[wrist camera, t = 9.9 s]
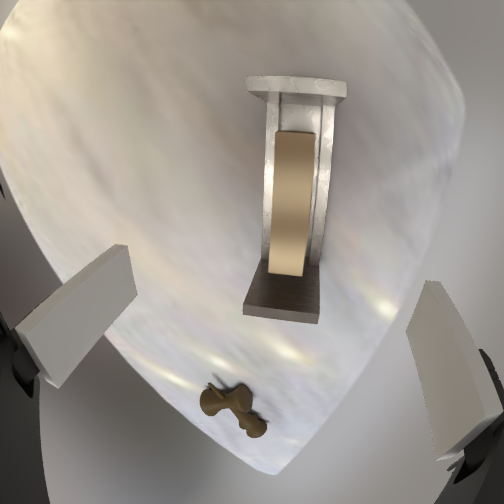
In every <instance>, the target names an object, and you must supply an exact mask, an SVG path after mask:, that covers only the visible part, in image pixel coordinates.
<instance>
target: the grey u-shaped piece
mask: <svg viewBox="0 0 504 504" xmlns="http://www.w3.org/2000/svg"><path fill="white" fill-rule="evenodd" d="M246 91H247V92H249V93H251V94H253V95H255V96H257V97H259V98H261V99H262V100H264V101H266V102H267V116H266V147H265V176H264V202H263V227H262V251H261V259H260V262H259V265H258V267H257V270H256V272H255V275H254V278H253V280H252V283H251V285H250V288H249V290H248V293H247V296H246V298H245V301H244V303H243V315H250V316H256V317H263V318H271V319H278V320H286V321H294V322H302V323H311V324H318V319H319V314H320V282H319V261H320V254H321V247H322V240H323V233H324V225H325V217H326V209H327V200H328V191H329V181H330V170H331V158H332V145H333V130H334V111H335V107H336V106H337V105H338V104H339V103H340V102H342V101H343V100H344V99H345V98H347V82H346V81H338V80H330V79H320V78H309V77H294V76H247V89H246ZM283 130H292V131H304V132H314V133H315V162H314V176H313V188H312V199H311V209H310V219H309V229H308V238H307V246H306V252H305V257H304V265H303V273H302V276H294V275H285V274H277V273H268V268H269V251H270V233H271V214H272V194H273V172H274V148H275V131H283Z"/></svg>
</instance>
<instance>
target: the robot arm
mask: <svg viewBox="0 0 504 504" xmlns="http://www.w3.org/2000/svg"><path fill="white" fill-rule="evenodd" d="M137 295H138V294H137V290H136V286H135V281H134V277H133V272H132V267H131V262H130V257H129V251H128V246H126V245H118V244H115V245H113V246H112V247H111V248H109V249H108V250H107V251H105V252H104V253H103V254H101V255H100V256H99V257H97V258H96V259H95V260H94V261H92V262H91V263H90V264H88V265H87V266H86V267H85V268H83V269H82V270H81V271H79V272H78V273H77V274H76V275H74V276H73V277H72V278H71V279H70V280H68V281H67V282H66V283H65V284H63V285H62V286H61V287H60V288H59V289H58V290H56V291H55V292H54V293H53V294H51V295H49V296H48V297H47V298H46V299H45V300H43V301H42V302H41V304H39V305H38V306H37V307H36V308H35V310H32V311H31V312H30V313H29V314H28V315H27V316H26V317H24V318H23V319H22V320H21V321H20V322H19V323H18V324H17V325H16V326H15V327H14V328H13V329H12V330H9V328H8V326H7V324H6V322H5V320H4V318H3V316H2V314H1V312H0V504H50V501H49V497H48V492H47V487H46V481H45V476H44V468H43V461H42V451H41V440H40V420H39V391H40V380H39V377H38V376H37V374H38V373H39V372H41V373H42V375H43V376H44V377H45V379H46V381H47V382H49V383H50V384H52V385H53V386H55V387H57V388H58V389H59V388H60V387H61V385H62V384H63V382H64V381H65V380H66V379H67V377H68V376H69V375H70V374H71V372H72V371H73V370H74V369H75V367H76V366H77V365H78V364H79V363H80V361H81V360H82V359H83V358H84V356H85V355H86V354H87V353H88V351H89V350H90V349H91V348H92V347H93V346H94V344H95V343H96V342H97V341H98V340H99V338H100V337H101V336H102V335H103V334H104V333H105V331H106V330H107V329H108V328H109V327H110V326H111V324H112V323H113V322H114V321H115V320H116V319H117V317H118V316H119V315H120V314H121V313H122V312H123V311H124V310H125V308H126V307H127V306H128V305H129V304H130V303H131V302H132V301H133V299H134V298H135V297H136V296H137ZM406 334H407V337H408V340H409V343H410V346H411V350H412V353H413V357H414V360H415V363H416V366H417V371H418V374H419V379H420V382H421V386H422V390H423V395H424V399H425V404H426V408H427V413H428V418H429V423H430V429H431V434H432V440H433V447H434V454H435V460H436V461H437V460H442V459H446V458H450V457H454V456H455V455H456V454H457V453H459V452H460V451H461V450H462V449H464V454H465V455H464V456H463V457H462V458H460V459H459V460H458V461H456V462H455V463H454V464H452V465H451V466H450V467H449V468H448V469H447V471H450V470H452V469H453V468H454V467H456V468H455V470H454V471H453V472H452V475H451V477H450V479H449V481H448V482H447V484H446V486H445V487H444V489H443V491H442V492H441V494H440V495H439V497H438V499H437V500H436V502H435V503H434V504H504V389H503V386H502V384H501V381H500V380H499V377H498V375H497V372H496V371H495V368H494V366H493V364H492V361H491V359H490V358H489V357H488V355H487V354H486V353H485V352H484V351H483V350H482V349H478V348H477V346H476V344H475V342H474V340H473V338H472V336H471V334H470V332H469V331H468V328H467V327H466V325H465V323H464V321H463V319H462V317H461V316H460V314H459V312H458V310H457V309H456V307H455V305H454V304H453V302H452V300H451V298H450V297H449V295H448V294H447V292H446V290H445V289H444V287H443V286H442V284H441V282H437V281H427V280H426V281H425V284H424V287H423V289H422V292H421V295H420V297H419V300H418V303H417V305H416V308H415V310H414V313H413V315H412V317H411V320H410V322H409V325H408V327H407V329H406Z"/></svg>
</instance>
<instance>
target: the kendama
mask: <svg viewBox="0 0 504 504" xmlns="http://www.w3.org/2000/svg"><path fill="white" fill-rule="evenodd" d="M208 385H209V386H210V388H211V389H212V390H211V389H205V390H204V391H203V392H202V394H201V396H200V406H201V409H202V411H203V412H204V413H205V414H206V415H208V416H214V415H216V414H217V413H218V412H219V411H220V410H221V409H225V408H230V409H231V411H232V412H233V413H234V414H235V416H236V417H237V418H238V420H239V426H240V428H242V429H246V430H247V431H246V433H247V435H248V436H249V437H251V438H258V437H261V436H262V435H264V433H265V432H266V430H267V424H266V422H265V421H263V420H258V417H257V416H256V415H255V414H248V413H247V412H249V411H250V410H251V407H252V402H253V399H252V394H251V392H250V390H249V389H248V388H247V387H246V386H245V385H240V386H238V387H237V388H236V389H235V390H234V391H232V392H230V393H226V394H222V393H221V392H220V391H219V390H218V389H217V388H216V387H215V386H214V385H213V384H211V383H208Z"/></svg>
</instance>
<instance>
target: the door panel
mask: <svg viewBox="0 0 504 504" xmlns="http://www.w3.org/2000/svg"><path fill="white" fill-rule="evenodd" d="M314 162H315V133H314V132H304V131H292V130H283V131H275V148H274V172H273V194H272V214H271V233H270V251H269V268H268V273H277V274H285V275H294V276H302V273H303V265H304V257H305V252H306V246H307V238H308V229H309V219H310V209H311V199H312V188H313V176H314Z"/></svg>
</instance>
